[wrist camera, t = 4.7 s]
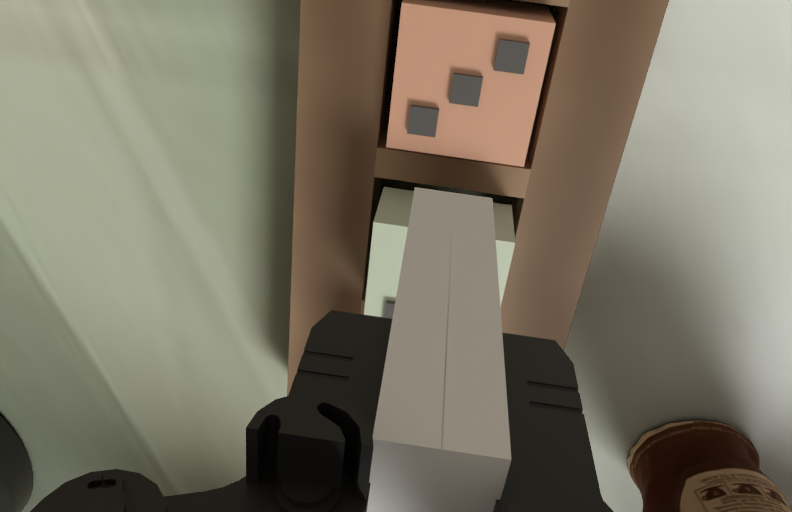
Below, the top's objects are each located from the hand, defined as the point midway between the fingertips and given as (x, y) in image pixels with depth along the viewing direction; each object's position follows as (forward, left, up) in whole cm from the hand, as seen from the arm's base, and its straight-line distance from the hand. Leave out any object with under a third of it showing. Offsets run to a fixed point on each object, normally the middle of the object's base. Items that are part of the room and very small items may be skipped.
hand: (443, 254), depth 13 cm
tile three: (0, 0, -14) cm, 14 cm away
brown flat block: (0, -7, -15) cm, 17 cm away
